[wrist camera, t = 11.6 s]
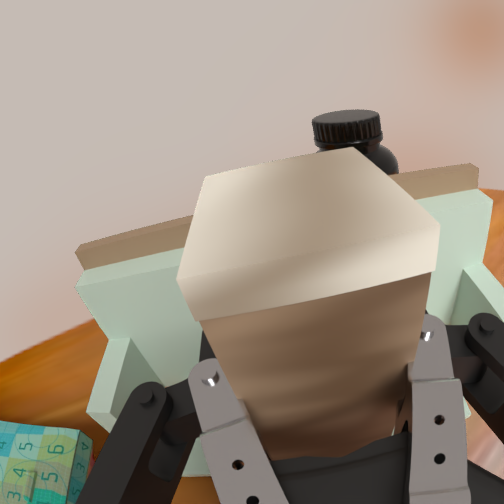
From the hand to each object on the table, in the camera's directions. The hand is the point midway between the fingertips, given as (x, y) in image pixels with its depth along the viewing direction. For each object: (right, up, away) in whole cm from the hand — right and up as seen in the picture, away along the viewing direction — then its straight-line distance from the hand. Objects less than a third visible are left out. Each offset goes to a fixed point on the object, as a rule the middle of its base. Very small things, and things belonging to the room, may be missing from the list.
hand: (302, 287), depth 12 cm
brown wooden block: (+2, -7, +1) cm, 8 cm away
